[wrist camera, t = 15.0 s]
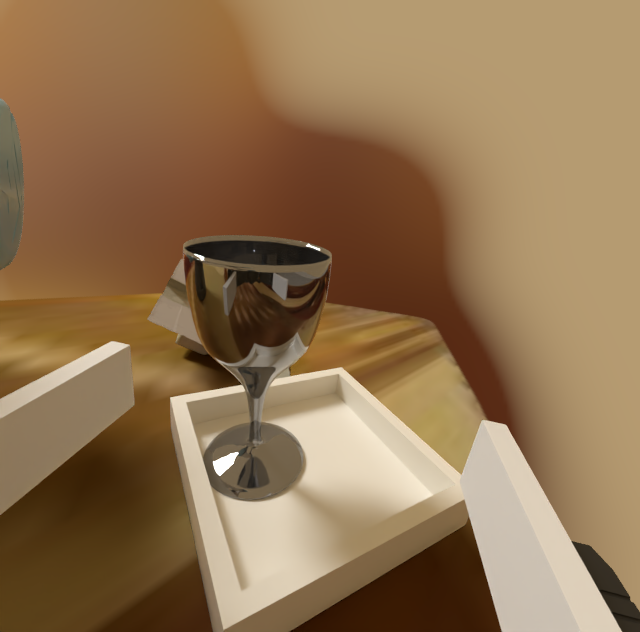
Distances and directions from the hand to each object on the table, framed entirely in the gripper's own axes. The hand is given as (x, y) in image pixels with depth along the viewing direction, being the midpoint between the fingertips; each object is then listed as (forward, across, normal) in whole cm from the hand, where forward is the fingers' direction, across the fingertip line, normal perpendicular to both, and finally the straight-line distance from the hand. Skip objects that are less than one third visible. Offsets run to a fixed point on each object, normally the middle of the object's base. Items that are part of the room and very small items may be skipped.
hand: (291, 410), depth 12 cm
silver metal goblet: (+8, -4, -11) cm, 14 cm away
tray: (+8, 0, -12) cm, 14 cm away
